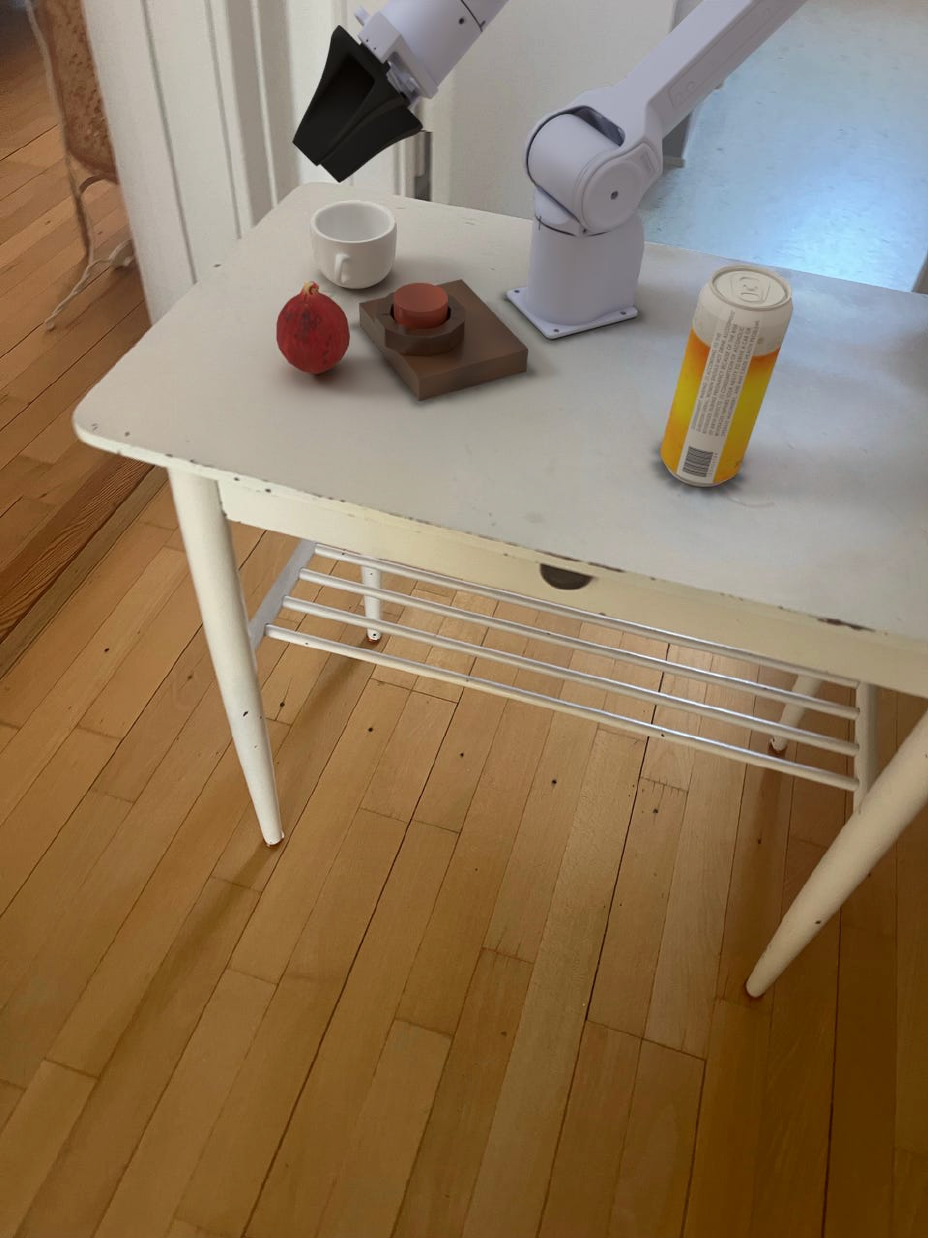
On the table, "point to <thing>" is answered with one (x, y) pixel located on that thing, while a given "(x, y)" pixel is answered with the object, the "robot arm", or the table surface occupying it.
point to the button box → (446, 344)
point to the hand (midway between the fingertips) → (316, 163)
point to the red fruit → (312, 331)
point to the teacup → (354, 242)
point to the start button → (420, 305)
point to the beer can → (725, 372)
